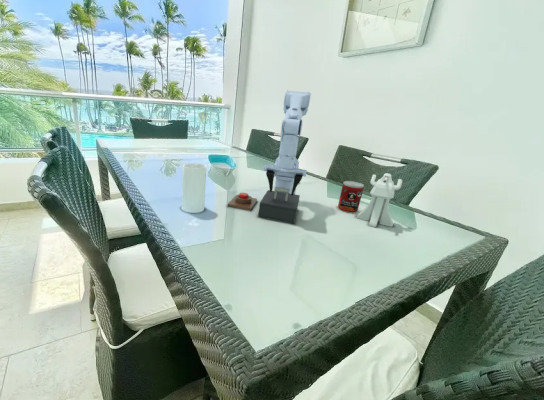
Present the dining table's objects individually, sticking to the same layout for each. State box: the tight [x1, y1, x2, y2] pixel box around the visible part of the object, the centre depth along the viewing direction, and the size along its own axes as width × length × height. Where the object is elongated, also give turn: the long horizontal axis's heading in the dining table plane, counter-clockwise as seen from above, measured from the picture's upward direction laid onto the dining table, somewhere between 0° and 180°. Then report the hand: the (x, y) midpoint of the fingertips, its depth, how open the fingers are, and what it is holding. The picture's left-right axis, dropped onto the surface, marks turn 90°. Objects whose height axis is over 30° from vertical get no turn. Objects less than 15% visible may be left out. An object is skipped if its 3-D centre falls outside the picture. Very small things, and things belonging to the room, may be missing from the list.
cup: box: [181, 162, 207, 214], centre depth 97 cm, size 8×8×16 cm
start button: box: [238, 192, 249, 199], centre depth 107 cm, size 4×4×2 cm
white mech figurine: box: [356, 172, 403, 228], centre depth 98 cm, size 12×13×18 cm
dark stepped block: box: [257, 202, 300, 225], centre depth 101 cm, size 16×13×5 cm
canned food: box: [337, 180, 365, 214], centre depth 110 cm, size 8×8×11 cm
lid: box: [259, 186, 301, 212], centre depth 100 cm, size 16×13×5 cm
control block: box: [227, 193, 258, 212], centre depth 108 cm, size 12×9×3 cm
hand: (281, 192), depth 98 cm, fingers open, 7 cm apart
